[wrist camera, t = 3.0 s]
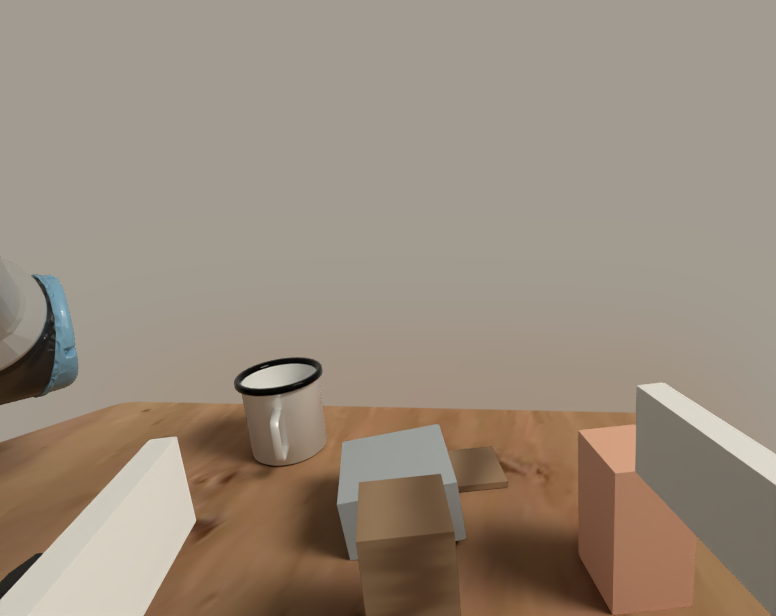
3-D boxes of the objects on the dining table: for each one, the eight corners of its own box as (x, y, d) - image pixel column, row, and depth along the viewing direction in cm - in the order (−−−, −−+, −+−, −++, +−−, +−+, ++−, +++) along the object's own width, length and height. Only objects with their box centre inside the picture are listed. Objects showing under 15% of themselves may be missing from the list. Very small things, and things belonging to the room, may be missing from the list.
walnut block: (376, 694, 26) (355, 541, 24) (376, 615, 31) (358, 482, 28) (466, 685, 26) (454, 531, 24) (451, 607, 31) (440, 473, 28)
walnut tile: (441, 494, 42) (441, 488, 42) (433, 457, 48) (433, 452, 48) (507, 487, 42) (507, 481, 42) (491, 451, 48) (491, 446, 48)
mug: (255, 432, 57) (243, 363, 55) (333, 421, 58) (323, 352, 56) (234, 491, 46) (217, 407, 44) (331, 477, 47) (319, 393, 44)
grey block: (350, 560, 36) (336, 504, 34) (353, 488, 44) (342, 442, 43) (466, 539, 36) (457, 482, 35) (446, 471, 44) (438, 423, 43)
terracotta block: (612, 614, 29) (615, 473, 27) (578, 554, 34) (578, 430, 32) (692, 606, 29) (702, 464, 27) (647, 547, 34) (651, 422, 32)
